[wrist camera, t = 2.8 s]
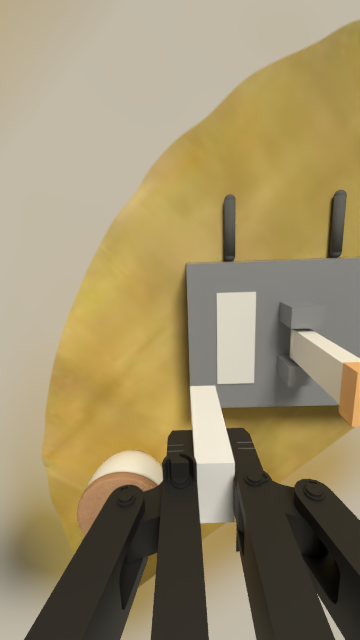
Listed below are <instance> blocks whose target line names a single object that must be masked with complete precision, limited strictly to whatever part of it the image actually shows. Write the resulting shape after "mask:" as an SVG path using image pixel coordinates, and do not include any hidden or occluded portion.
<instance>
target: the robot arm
mask: <svg viewBox="0 0 360 640" xmlns="http://www.w3.org/2000/svg"><path fill="white" fill-rule="evenodd" d="M190 402H191V430H178V431H172V432H171V434H170V435H169V436H168V444H167V445H168V446H167V456H166V457H165V458H164V460H163V462H162V472H163V481H162V482H161V483H160V484H159V485H158V486H156V487H155V488H152V489H150V490H147V491H144V492H143V490H142V489H140V488H139V487H138V486H135V485H124V486H120V487H118V488H117V489H115V490H114V491H113V492H112V493H111V494H110V495H109V497H108V499H107V500H106V502H105V504H104V505H103V507H102V509H101V510H100V512H99V514H98V516H97V517H96V519H95V521H94V522H93V524H92V526H91V527H90V529H89V531H88V532H87V534H86V536H85V538H84V539H83V541H82V543H81V544H80V546H79V548H78V549H77V551H76V553H75V554H74V556H73V558H72V560H71V561H70V563H69V565H68V566H67V568H66V570H65V571H64V573H63V575H62V577H61V578H60V580H59V582H58V583H57V585H56V587H55V588H54V590H53V592H52V593H51V595H50V597H49V598H48V600H47V602H46V604H45V605H44V607H43V609H42V610H41V612H40V614H39V615H38V617H37V619H36V621H35V622H34V624H33V625H32V627H31V629H30V631H29V632H28V634H27V636H26V637H25V639H24V640H120V638H121V635H122V632H123V630H124V626H125V624H126V621H127V618H128V615H129V612H130V609H131V606H132V603H133V600H134V598H135V595H136V592H137V589H138V586H139V583H140V580H141V577H142V574H143V571H144V568H145V566H146V563H147V559H148V556H149V555H152V554H155V553H157V552H158V554H157V567H156V580H155V593H154V605H153V618H152V631H151V640H209V637H208V623H207V609H206V596H205V582H204V568H203V554H202V540H201V526H200V523H223V522H234V513H235V518H236V523H237V537H236V539H237V540H236V551H240V556H241V561H242V566H243V572H244V577H245V581H246V587H247V592H248V597H249V602H250V608H251V613H252V618H253V623H254V629H255V634H256V639H257V640H335V638H334V636H333V633H332V631H331V628H330V625H329V623H328V620H327V618H326V616H325V613H324V611H323V608H322V605H321V603H320V600H319V598H318V596H319V597H320V599H321V601H322V602H323V604H324V605H325V607H326V609H327V610H328V612H329V614H330V615H331V617H332V618H333V620H334V622H335V623H336V625H337V627H338V628H339V630H340V631H341V633H342V635H343V636H344V638H345V640H360V520H359V519H357V517H356V516H355V515H354V514H353V513H352V512H351V511H350V510H349V509H348V508H347V507H346V506H345V504H344V503H343V502H342V501H341V500H340V499H339V498H338V497H337V496H336V495H335V494H334V493H333V492H332V491H331V490H330V489H329V488H328V487H327V486H326V485H324V484H323V483H321V482H318V481H316V480H312V479H302V480H300V481H298V482H297V483H296V484H295V487H289V486H284V485H281V484H278V483H276V482H274V481H272V479H271V478H270V476H269V475H268V474H267V473H266V472H265V471H263V468H262V466H261V463H260V460H259V458H258V455H257V453H256V450H255V447H254V445H253V443H252V439H251V437H250V434H249V433H248V432H247V431H246V430H245V429H244V428H226V426H225V422H224V418H223V414H222V411H221V407H220V403H219V399H218V395H217V391H216V387H215V385H214V386H190ZM316 592H317V593H316ZM317 594H318V595H317Z"/></svg>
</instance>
